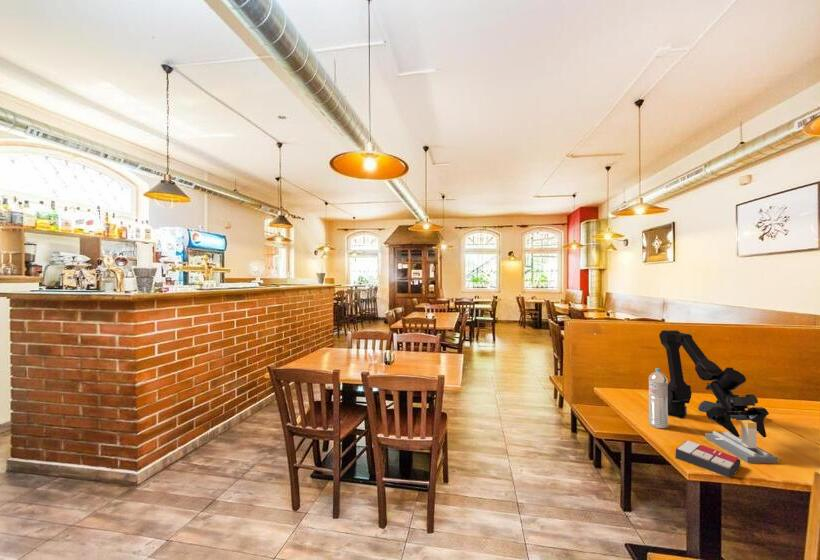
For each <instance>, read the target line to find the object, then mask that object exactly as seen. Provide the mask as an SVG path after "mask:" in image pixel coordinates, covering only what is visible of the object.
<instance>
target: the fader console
mask: <svg viewBox="0 0 820 560" xmlns="http://www.w3.org/2000/svg"><path fill="white" fill-rule="evenodd" d="M704 435H705V436H704V438H705V439H706V440H707V441H709V442H712V443H713V444H715V445H716V446H718V447H720V448H721V449H723V450H725V451H727V452H728V453H731V454H732V455H733V456H734V457H737V458H738V459H740V460H743V461H744V462H746V463H748V464H749V463H752V464H753V463H754V464H755V463H756V464H769V463H770V464H779V463H778V462H779V461H778V460H779V458H778V456H776V455H774V454H772V453H770V452H768V451H766V450H764V449H762V448H761V447H758V446H757V448H756V451H751V450H749V449H747V448H745V447H744V446H742V445H741V437H736V436H735V435H733V434H732V433H731V432H729V431H727V430H726V431H723V432H721V433H719V432H717V431H715V430H714V431H712V432H707V433H706V432H705V434H704Z"/></svg>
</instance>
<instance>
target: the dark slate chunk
mask: <svg viewBox="0 0 820 560" xmlns="http://www.w3.org/2000/svg"><path fill="white" fill-rule="evenodd" d="M712 407H722V406H721V405H720V404H717V403H716V402H714V401H713V402H712V401H709V400H703V401H701V402H700V403H699V405H698V408H697V409H698V411H699V412H701V413H705V412H707V411H708V410H710V409H711V408H712ZM750 408H751V407H750V406H748V408H747V409H744V410H746V411H747V410H749V409H750ZM730 418H732V419H731V420H734V419H736V420H735V421H739V420H749V419H748V418H747V417H746V416H730Z"/></svg>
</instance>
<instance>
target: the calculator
mask: <svg viewBox="0 0 820 560" xmlns="http://www.w3.org/2000/svg"><path fill="white" fill-rule="evenodd" d="M676 459H678V460H680V461H683V462H685V463H688V464H693V465H695V466H697V467H700V468H703V469H705V470H708V471H710V472H712V473H715V474H719V475H721V476H724V477H727V478H732V477H733V476H734V475H735V474H736V473H735V472H736V471H737V472H738V471H739V469H740V468H741V459H740V458H739V457H737V456H735V455H733V454H732V455H731V454H729V453H725V452H723V451H719V450H718V449H715V448H712V447H708V446H706V445H703V444H701V445H700V444H699V443H696V442H693V441H690V440H686V441H685V442H683V443H682V444H681V445H679V446H677V448H675V460H676Z"/></svg>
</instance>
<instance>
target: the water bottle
mask: <svg viewBox="0 0 820 560" xmlns="http://www.w3.org/2000/svg"><path fill="white" fill-rule="evenodd" d="M654 370H655V371H654V372H652V373H650V375H648V423H649V425H650V426H651V427H653V428H656V429H661V430H662V429H664V430H665V429H667V428H668V427H669V415H668V384H669V379H668V378H667V376H666V375H665V374H664V373H662V372H661V368H658V367H657V368H656V367H655V369H654Z"/></svg>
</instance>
